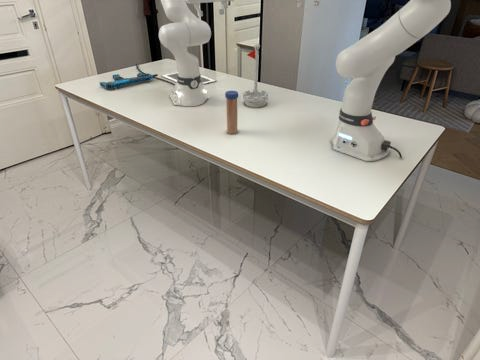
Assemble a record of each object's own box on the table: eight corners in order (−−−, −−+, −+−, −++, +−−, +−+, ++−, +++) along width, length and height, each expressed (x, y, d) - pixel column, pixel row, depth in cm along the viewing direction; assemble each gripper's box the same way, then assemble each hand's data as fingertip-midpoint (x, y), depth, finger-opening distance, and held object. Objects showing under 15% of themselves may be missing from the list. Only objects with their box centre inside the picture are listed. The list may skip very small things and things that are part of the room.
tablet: (161, 76, 220) (161, 75, 220) (187, 70, 231) (187, 69, 231) (189, 87, 200) (189, 87, 199) (216, 81, 211) (216, 80, 210)
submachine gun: (143, 67, 226) (161, 73, 210) (144, 73, 228) (162, 79, 212) (92, 77, 208) (107, 85, 191) (93, 83, 210) (109, 91, 193)
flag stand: (261, 97, 185) (263, 39, 169) (271, 105, 175) (275, 44, 158) (239, 100, 181) (239, 41, 165) (248, 109, 171) (249, 46, 154)
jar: (225, 132, 149) (223, 94, 139) (231, 128, 152) (230, 91, 142) (233, 135, 146) (233, 96, 137) (239, 131, 150) (239, 93, 140)
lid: (222, 97, 140) (222, 93, 139) (230, 94, 144) (230, 89, 142) (233, 100, 137) (233, 95, 136) (240, 96, 141) (240, 92, 140)
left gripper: (229, -27, 131) (230, 12, 139) (180, -26, 123) (184, 16, 130) (237, -27, 127) (238, 14, 134) (187, -26, 118) (190, 18, 126)
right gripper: (297, -35, 119) (294, 9, 127) (336, -36, 129) (331, 5, 137) (285, -35, 124) (283, 7, 131) (324, -36, 134) (319, 4, 141)
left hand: (211, 15), depth 132 cm, fingers open, 8 cm apart
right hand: (308, 6), depth 134 cm, fingers open, 8 cm apart
